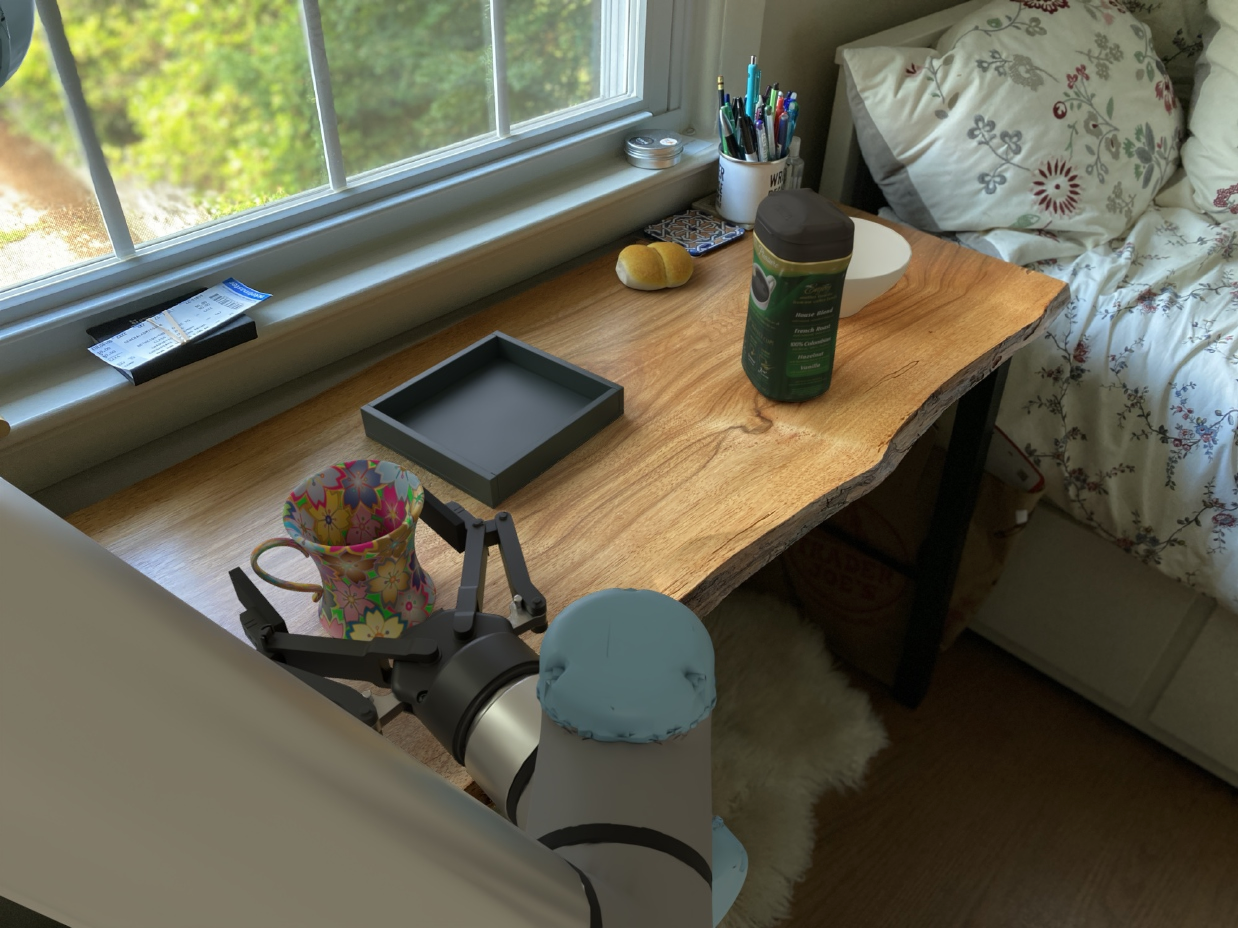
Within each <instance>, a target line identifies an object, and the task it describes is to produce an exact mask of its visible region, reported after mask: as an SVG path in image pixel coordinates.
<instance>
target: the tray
mask: <svg viewBox="0 0 1238 928" xmlns="http://www.w3.org/2000/svg"><path fill="white" fill-rule="evenodd" d="M359 410H360V415H361V419H362V424H363V429H364V434H365V436H367V437H368V438H369V439H372V440H373V441H375V442H377V443H378V444H380V445H382V446H384V447H385V448H387V449H389V450H391V451H393V452H394V453H396V455H399V456H401V457H403V458H405V459H406V460H408V461H410V462H411V463H413V464H415V465H416V466H418V467H419V468H422V469H423V470H425V471H427V472H429V474H432V475H434V476H436V477H437V478H439V479H440V480H442V481H444V482H446V483H447V484H449V485H451V486H453V487H455V488H456V489H458V490H459V491H461V492H462V493H464V494H466V495H469V496H470V497H472V498H473V499H475V500H477V501H479V502H480V503H482V504H484V505H486V506H487V507H489V508H490V509H492V510H493V509H495V508H497V507H498V506H500V505H501V504H503V503H504V502H506V500H508V499H509V498H511V497H512V496H513V495H514V494H517V492H519V491H521V490H522V489H523V488H524V487H526V486H527V485H529V484H530V483H531V482H533V481H534V480H535V479H536V478H539V476H540V475H542V474H544V473H545V472H546V471H547V470H549V469H550V468H552V467H553V466H554V465H556V464H557V463H558V462H560V461H561V460H563V459H564V458H566V457H567V456H568V455H570V454H571V453H573V452H574V451H575V450H576V449H578V448H579V447H580V446H582V445H583V444H585V443H586V442H587V441H589V440H590V439H592V438H593V437H594V436H596V435H597V434H599V433H600V432H601V431H603V429H605V428H607V427H608V426H610V425H611V424H612V423H613V422H615V421H616V420H618V419H619V418H621V417H623V415H624V414H625V387H624V386H623V385H621V384H619V383H616V382H614V381H612V380H609V379H608V378H605V377H603V376H601V375H598V374H596V373H595V372H592V371H589V370H587V369H585V368H582V367H580V366H578V365H577V364H573V363H572V362H569V361H567V360H565V359H562V358H560V357H558V356H556V355H553V354H551V353H549V352H547V351H544V350H542V349H540V348H537V347H536V346H533V345H531V344H529V343H526V342H524V341H522V340H519V339H518V338H515V337H513V336H511V335H508V334H506V333H504V332H501V331H500V330H495V331H494V332H492V333H490V334H488V335H486V336H485V337H483V338H481V339H479V340H477V341H476V342H474V343H472V344H471V345H469V346H467V347H465V348H464V349H461V350H460V351H458V352H456V353H455V354H452V355H451V356H450V357H447V358H446V359H444V360H442V361H440V362H439V363H437V364H435V365H433V366H432V367H429V368H428V369H426V370H425V371H423V372H421V373H419V374H417V375H415V376H414V377H412V378H410V379H409V380H406V381H405V382H403V383H401V384H400V385H398V386H396V387H394V388H392V389H391V390H389V391H388V392H386V393H384V394H382V395H381V396H378V397H376V398H375V399H374V400H371V401H369V402H368V403H366V404H364V405H362V406H360V407H359Z"/></svg>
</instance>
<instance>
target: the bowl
mask: <svg viewBox="0 0 1238 928" xmlns="http://www.w3.org/2000/svg"><path fill="white" fill-rule="evenodd" d="M848 217H849V218H850V219H852V221H853V222H854V224H855V231H854V245H853V254H852V258H851V261H850V264H849V266H848V269H847V273H846V277H845V282H844V288H843V294H842V302H841V309H840V316H839V319H844V318H848V317H851V316H854V315H856V314H858V313H859V312H860V311H862V309H864V308H865V307H866V306H867V305H868V304H870V303H872V302H874V300H876V299H879V298H880V297H881V296H883V295H884V294H885V293H887V292H889V290H891V289H892V288H893V287H894V286H895V285H896V284H897V283H898V282H899V281H901V279H902V278H903V276H904V275H905V273H907V270H908V267H909V265H910V262H911V260H912V257H913V251H912V245H911V244H910V243H909V241H908V240H907V239H906V238H905V237H904V236H903V235H901V234H900V233H898V232H897V231H895V229H892V228H890V227H888V226H885V225H883V224H881V223H878V222H874V221H871V220H868V219H865V218H859V217H855V216H848Z"/></svg>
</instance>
